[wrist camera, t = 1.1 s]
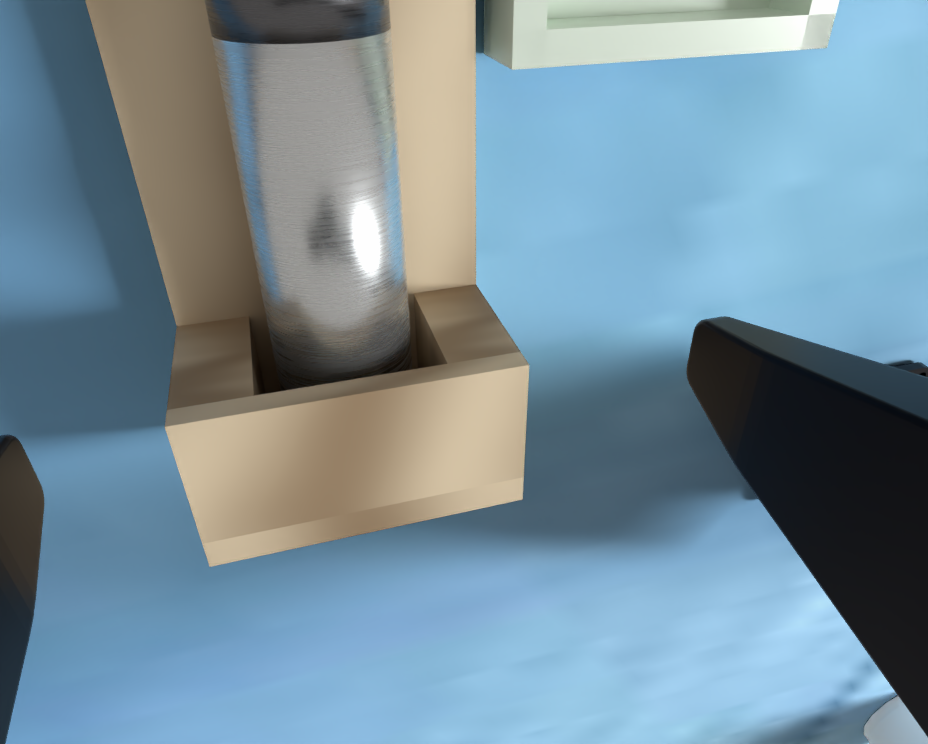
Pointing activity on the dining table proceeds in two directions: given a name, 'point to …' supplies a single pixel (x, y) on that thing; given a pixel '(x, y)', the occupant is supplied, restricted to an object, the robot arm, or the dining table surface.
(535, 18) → the tray
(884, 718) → the foam cup
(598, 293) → the dining table surface
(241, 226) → the bracket
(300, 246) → the pin
